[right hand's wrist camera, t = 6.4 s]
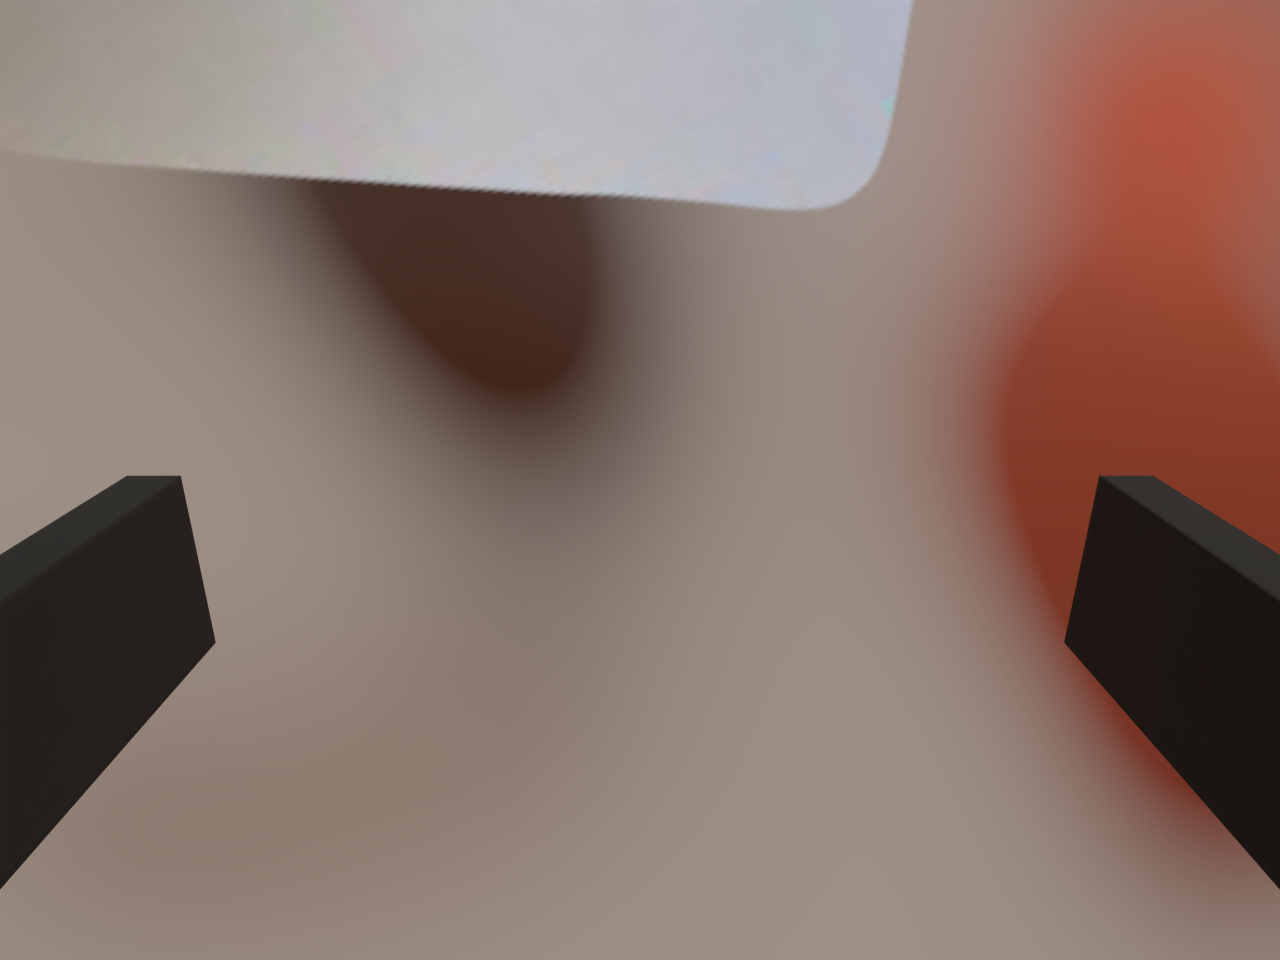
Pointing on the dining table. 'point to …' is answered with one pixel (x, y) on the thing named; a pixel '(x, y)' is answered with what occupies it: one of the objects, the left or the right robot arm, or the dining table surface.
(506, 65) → the dining table surface
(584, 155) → the dining table surface
